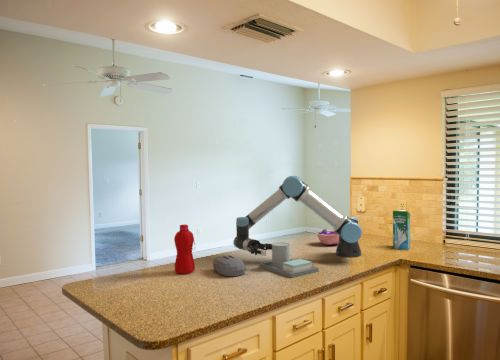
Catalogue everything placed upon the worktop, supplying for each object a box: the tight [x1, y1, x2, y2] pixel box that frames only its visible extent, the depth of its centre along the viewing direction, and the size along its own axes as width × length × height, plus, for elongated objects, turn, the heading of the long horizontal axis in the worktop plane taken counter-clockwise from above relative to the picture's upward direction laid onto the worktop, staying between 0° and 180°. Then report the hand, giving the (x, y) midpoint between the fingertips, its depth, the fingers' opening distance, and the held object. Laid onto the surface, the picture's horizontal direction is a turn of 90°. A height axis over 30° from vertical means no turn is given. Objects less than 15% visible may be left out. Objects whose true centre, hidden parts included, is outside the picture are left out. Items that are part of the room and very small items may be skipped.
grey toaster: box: [212, 254, 247, 277], centre depth 197 cm, size 15×8×20 cm
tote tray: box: [258, 259, 319, 279], centre depth 197 cm, size 26×18×3 cm
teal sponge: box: [282, 258, 313, 273], centre depth 191 cm, size 8×12×5 cm
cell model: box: [315, 228, 339, 246], centre depth 264 cm, size 17×20×11 cm
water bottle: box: [173, 224, 196, 275], centre depth 198 cm, size 9×11×25 cm
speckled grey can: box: [271, 241, 291, 269], centre depth 202 cm, size 10×10×12 cm
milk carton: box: [392, 209, 411, 251], centre depth 249 cm, size 9×9×25 cm
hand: (275, 251), depth 205 cm, fingers open, 13 cm apart
